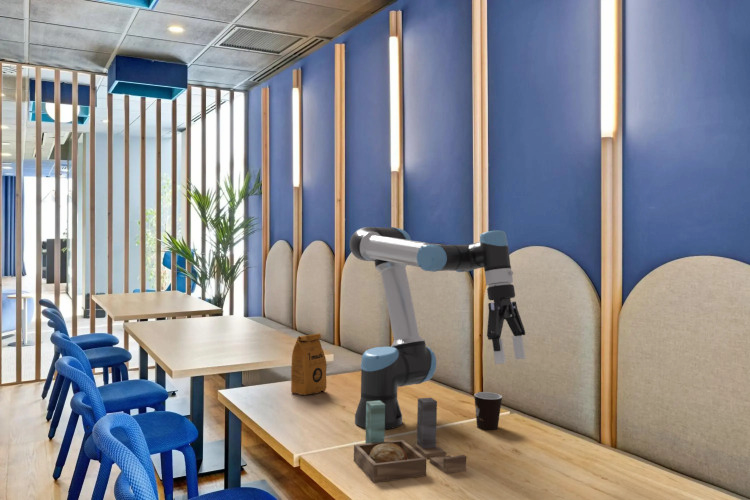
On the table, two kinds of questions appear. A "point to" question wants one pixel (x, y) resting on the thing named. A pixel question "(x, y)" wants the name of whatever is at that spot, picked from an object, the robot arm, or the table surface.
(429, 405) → the grey tall block
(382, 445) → the bread roll
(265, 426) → the table surface
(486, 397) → the coffee mug
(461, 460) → the strip
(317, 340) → the coffee package
